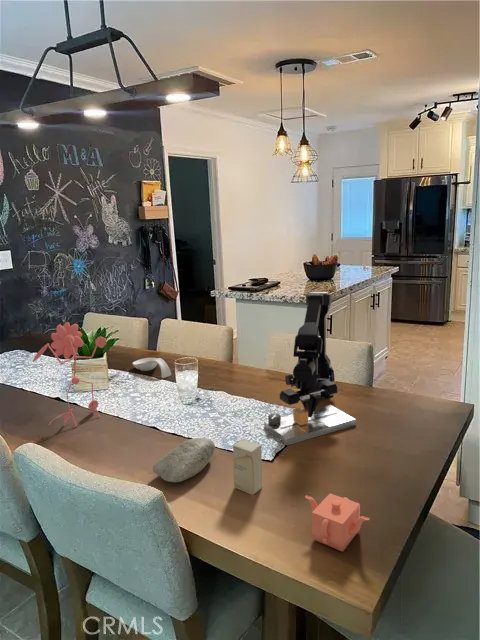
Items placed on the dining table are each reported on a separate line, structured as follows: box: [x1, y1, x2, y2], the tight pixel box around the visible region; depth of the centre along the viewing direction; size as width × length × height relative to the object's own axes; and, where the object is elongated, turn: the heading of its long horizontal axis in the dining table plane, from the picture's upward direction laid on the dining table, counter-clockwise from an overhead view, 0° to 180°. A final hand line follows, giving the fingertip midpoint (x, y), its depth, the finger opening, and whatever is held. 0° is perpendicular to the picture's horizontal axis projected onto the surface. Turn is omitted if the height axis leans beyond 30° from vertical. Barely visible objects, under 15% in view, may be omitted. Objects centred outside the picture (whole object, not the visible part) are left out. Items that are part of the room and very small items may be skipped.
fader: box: [292, 406, 308, 426], centre depth 153 cm, size 3×4×4 cm
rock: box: [151, 437, 216, 483], centre depth 132 cm, size 8×11×20 cm
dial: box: [267, 413, 282, 425], centre depth 154 cm, size 4×4×2 cm
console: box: [263, 404, 357, 446], centre depth 155 cm, size 26×14×2 cm, turn 116°
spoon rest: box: [132, 357, 172, 379], centre depth 216 cm, size 24×12×7 cm, turn 42°
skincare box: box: [232, 438, 263, 496], centre depth 122 cm, size 6×4×12 cm
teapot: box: [304, 493, 370, 552], centre depth 103 cm, size 12×15×8 cm
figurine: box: [32, 321, 115, 428], centre depth 167 cm, size 15×26×35 cm, turn 141°
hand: (309, 416), depth 155 cm, fingers closed
